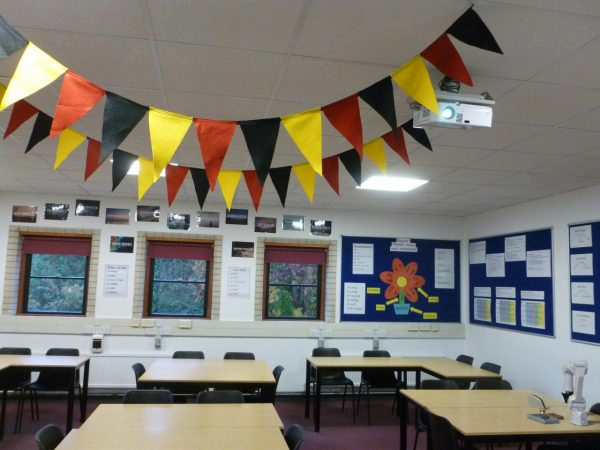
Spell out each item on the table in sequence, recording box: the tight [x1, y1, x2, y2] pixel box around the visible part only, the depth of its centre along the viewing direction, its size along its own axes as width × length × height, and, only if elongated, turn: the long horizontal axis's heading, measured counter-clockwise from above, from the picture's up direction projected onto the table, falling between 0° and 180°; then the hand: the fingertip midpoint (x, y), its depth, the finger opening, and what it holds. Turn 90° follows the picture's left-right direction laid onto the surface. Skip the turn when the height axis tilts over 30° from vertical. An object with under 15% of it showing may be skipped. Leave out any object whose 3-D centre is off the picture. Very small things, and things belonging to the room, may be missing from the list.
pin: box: [538, 408, 547, 420], centre depth 331 cm, size 4×4×7 cm
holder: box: [545, 412, 565, 421], centre depth 337 cm, size 9×9×2 cm
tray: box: [526, 412, 560, 425], centre depth 330 cm, size 16×12×2 cm
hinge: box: [526, 394, 549, 410], centre depth 370 cm, size 17×5×10 cm, turn 10°
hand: (569, 402), depth 341 cm, fingers open, 7 cm apart
